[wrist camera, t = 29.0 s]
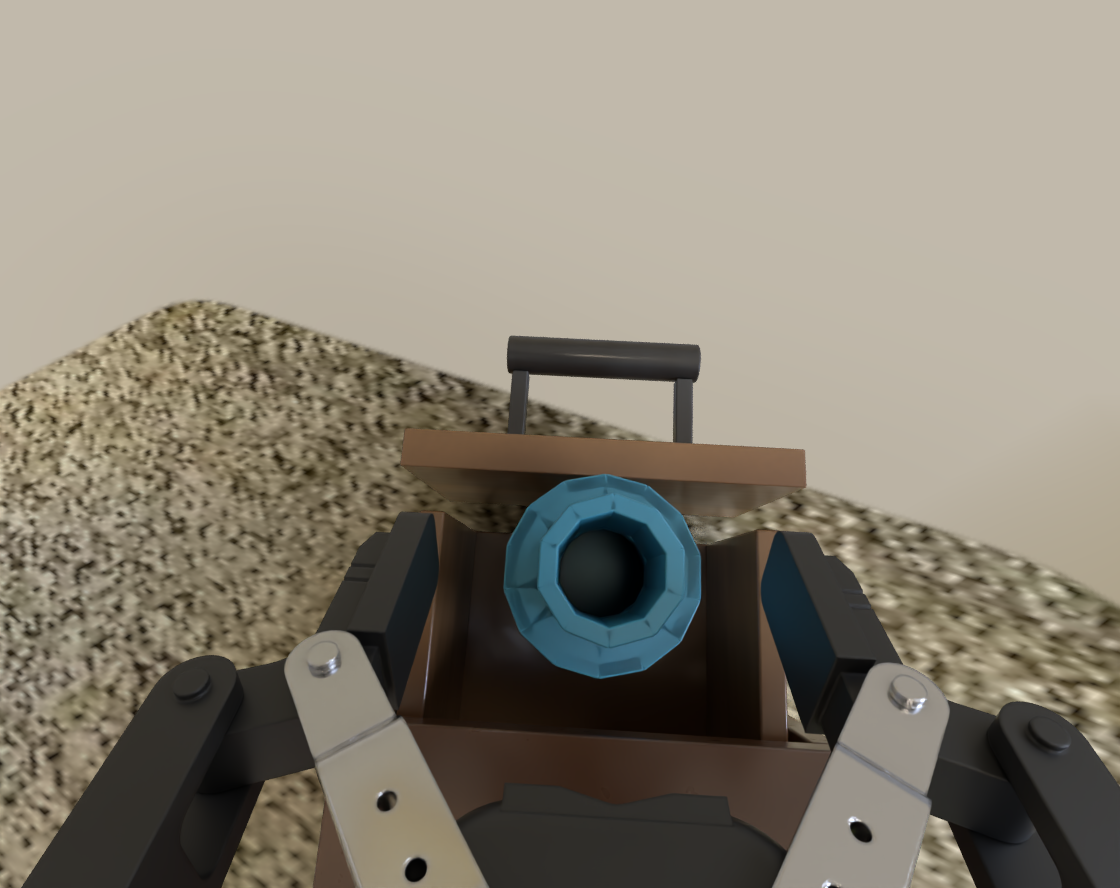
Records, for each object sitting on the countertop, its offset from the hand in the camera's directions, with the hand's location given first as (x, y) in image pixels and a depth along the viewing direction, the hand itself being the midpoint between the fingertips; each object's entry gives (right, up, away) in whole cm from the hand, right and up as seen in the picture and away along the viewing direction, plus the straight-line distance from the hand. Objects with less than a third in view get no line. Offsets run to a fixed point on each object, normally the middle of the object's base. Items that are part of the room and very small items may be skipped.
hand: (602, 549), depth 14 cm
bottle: (0, -3, +10) cm, 10 cm away
